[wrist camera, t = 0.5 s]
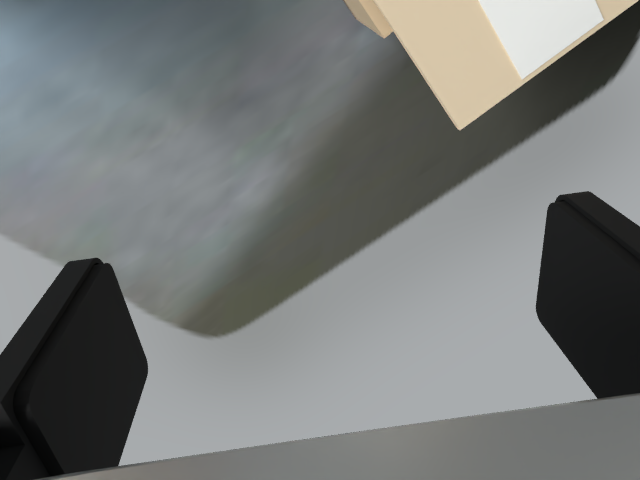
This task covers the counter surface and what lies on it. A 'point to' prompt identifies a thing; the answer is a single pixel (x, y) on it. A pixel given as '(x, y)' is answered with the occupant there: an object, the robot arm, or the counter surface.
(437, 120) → the counter surface
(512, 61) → the outer flap
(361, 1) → the parcel
